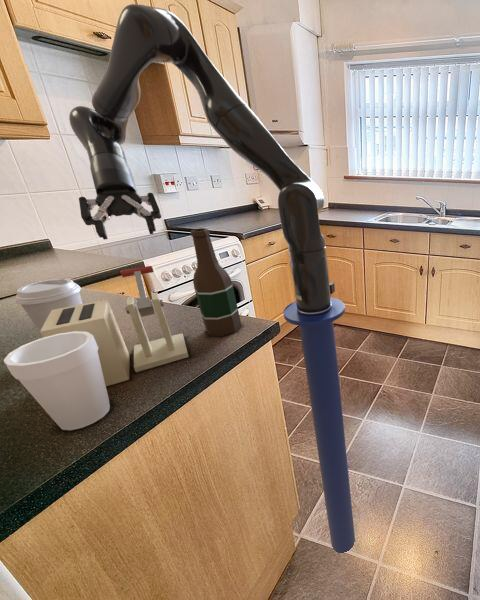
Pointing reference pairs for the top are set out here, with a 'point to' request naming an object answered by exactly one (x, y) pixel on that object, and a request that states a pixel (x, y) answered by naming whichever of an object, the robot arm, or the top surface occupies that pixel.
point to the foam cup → (63, 377)
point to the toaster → (94, 335)
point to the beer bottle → (213, 288)
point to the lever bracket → (158, 349)
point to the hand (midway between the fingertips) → (128, 234)
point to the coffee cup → (47, 298)
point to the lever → (141, 289)
